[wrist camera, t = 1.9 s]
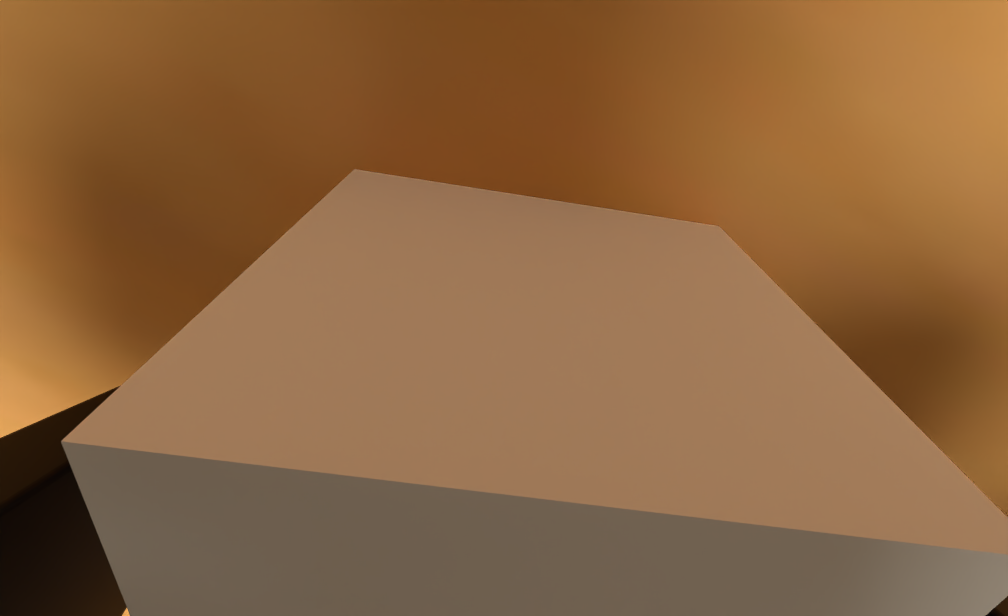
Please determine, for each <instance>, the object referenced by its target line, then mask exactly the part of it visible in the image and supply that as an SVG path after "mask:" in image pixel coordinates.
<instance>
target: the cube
mask: <svg viewBox="0 0 1008 616" xmlns="http://www.w3.org/2000/svg"><path fill="white" fill-rule="evenodd" d="M61 443H62V445H63V448H64V450H65V453H66V455H67V458H68V461H69V463H70V466H71V468H72V471H73V473H74V476H75V478H76V481H77V483H78V486H79V488H80V491H81V493H82V496H83V498H84V501H85V503H86V506H87V508H88V511H89V513H90V516H91V518H92V521H93V523H94V526H95V528H96V531H97V533H98V536H99V538H100V541H101V543H102V546H103V548H104V551H105V553H106V556H107V558H108V561H109V563H110V566H111V568H112V571H113V574H114V576H115V579H116V581H117V584H118V586H119V589H120V591H121V594H122V596H123V599H124V601H125V604H126V606H127V609H128V611H129V614H130V616H985V615H987V614H988V613H989V612H990V611H991V610H992V609H993V608H995V607H996V606H997V605H998V604H999V603H1000V602H1001V601H1003V600H1004V599H1005V598H1006V597H1007V596H1008V517H1007V516H1006V515H1005V514H1004V513H1003V512H1002V511H1001V510H1000V509H999V508H998V507H997V506H996V505H995V504H994V503H993V502H992V501H991V500H990V499H989V498H988V497H987V496H986V495H985V494H984V493H983V492H982V491H981V490H980V489H979V488H978V487H977V486H976V485H975V484H974V483H973V482H972V481H971V480H970V479H969V478H968V477H967V476H966V475H965V474H964V473H963V472H962V471H961V470H960V469H959V468H958V467H957V466H956V465H955V464H954V463H953V462H952V461H951V460H950V459H949V458H948V457H947V456H946V455H945V454H944V453H943V452H942V451H941V450H940V449H939V448H938V447H937V446H936V445H935V444H934V443H933V442H932V441H931V440H930V439H929V438H928V437H927V436H926V435H925V434H924V433H923V432H922V431H921V430H920V429H919V428H918V427H917V426H916V425H915V424H914V423H913V422H912V421H911V420H910V418H909V417H908V416H907V415H906V414H905V413H904V412H903V411H902V410H901V409H900V408H899V407H898V406H897V405H896V404H895V403H894V402H893V401H892V400H891V399H890V398H889V397H888V396H887V395H886V394H885V393H884V392H883V391H882V390H881V389H880V388H879V387H878V386H877V385H876V384H875V383H874V382H873V381H872V380H871V379H870V378H869V377H868V376H867V375H866V374H865V373H864V372H863V371H862V370H861V369H860V368H859V367H858V366H857V365H856V364H855V363H854V362H853V361H852V360H851V359H850V358H849V357H848V356H847V355H846V354H845V353H844V352H843V351H842V350H841V349H840V348H839V347H838V346H837V345H836V344H835V343H834V342H833V341H832V340H831V339H830V338H829V337H828V336H827V335H826V334H825V333H824V332H823V331H822V330H821V329H820V328H819V327H818V326H817V325H816V324H815V323H814V322H813V321H812V319H811V318H810V317H809V316H808V315H807V314H806V313H805V312H804V311H803V310H802V309H801V308H800V307H799V306H798V305H797V304H796V303H795V302H794V301H793V300H792V299H791V298H790V297H789V296H788V295H787V294H786V293H785V292H784V291H783V290H782V289H781V288H780V287H779V286H778V285H777V284H776V283H775V282H774V281H773V280H772V279H771V278H770V277H769V276H768V275H767V274H766V273H765V272H764V271H763V270H762V269H761V268H760V267H759V266H758V265H757V264H756V263H755V262H754V261H753V260H752V259H751V258H750V257H749V256H748V255H747V254H746V253H745V252H744V251H743V250H742V249H741V248H740V247H739V246H738V245H737V244H736V243H735V242H734V241H733V240H732V239H731V238H730V237H729V236H728V235H727V234H726V233H725V232H724V231H723V230H722V229H721V228H720V227H719V226H716V225H710V224H703V223H697V222H691V221H684V220H678V219H671V218H665V217H659V216H652V215H646V214H639V213H633V212H626V211H620V210H614V209H607V208H601V207H594V206H588V205H582V204H575V203H569V202H562V201H556V200H550V199H543V198H537V197H530V196H524V195H518V194H511V193H505V192H498V191H492V190H486V189H479V188H473V187H466V186H460V185H454V184H447V183H441V182H434V181H428V180H422V179H415V178H409V177H402V176H396V175H390V174H383V173H377V172H370V171H364V170H358V169H354V170H353V171H352V172H351V173H350V174H349V175H347V176H346V177H345V178H344V179H343V180H342V181H341V182H340V183H339V184H338V185H337V186H336V187H334V188H333V189H332V190H331V191H330V192H329V193H328V194H327V195H326V196H325V197H324V198H323V199H322V200H320V201H319V202H318V203H317V204H316V205H315V206H314V207H313V208H312V209H311V210H310V211H309V212H308V213H306V214H305V215H304V216H303V217H302V218H301V219H300V220H299V221H298V222H297V223H296V224H295V225H294V226H292V227H291V228H290V229H289V230H288V231H287V232H286V233H285V234H284V235H283V236H282V237H281V238H280V239H278V240H277V241H276V242H275V243H274V244H273V245H272V246H271V247H270V248H269V249H268V250H267V251H266V252H264V253H263V254H262V255H261V256H260V257H259V258H258V259H257V260H256V261H255V262H254V263H253V264H251V265H250V266H249V267H248V268H247V269H246V270H245V271H244V272H243V273H242V274H241V275H240V276H239V277H237V278H236V279H235V280H234V281H233V282H232V283H231V284H230V285H229V286H228V287H227V288H226V289H225V290H223V291H222V292H221V293H220V294H219V295H218V296H217V297H216V298H215V299H214V300H213V301H212V302H211V303H209V304H208V305H207V306H206V307H205V308H204V309H203V310H202V311H201V312H200V313H199V314H198V315H197V316H195V317H194V318H193V319H192V320H191V321H190V322H189V323H188V324H187V325H186V326H185V327H184V328H183V329H181V330H180V331H179V332H178V333H177V334H176V335H175V336H174V337H173V338H172V339H171V340H170V341H168V342H167V343H166V344H165V345H164V346H163V347H162V348H161V349H160V350H159V351H158V352H157V353H156V354H154V355H153V356H152V357H151V358H150V359H149V360H148V361H147V362H146V363H145V364H144V365H143V366H142V367H140V368H139V369H138V370H137V371H136V372H135V373H134V374H133V375H132V376H131V377H130V378H129V379H128V380H126V381H125V382H124V383H123V384H122V385H121V386H120V387H119V388H118V389H117V390H116V391H115V392H114V393H112V394H111V395H110V396H109V397H108V398H107V399H106V400H105V401H104V402H103V403H102V404H101V405H99V406H98V407H97V408H96V409H95V410H94V411H93V412H92V413H91V414H90V415H89V416H88V417H87V418H85V419H84V420H83V421H82V422H81V423H80V424H79V425H78V426H77V427H76V428H75V429H74V430H73V431H71V432H70V433H69V434H68V435H67V436H66V437H65V438H64V439H63V440H62V441H61Z"/></svg>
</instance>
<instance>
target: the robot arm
mask: <svg viewBox="0 0 1008 616" xmlns="http://www.w3.org/2000/svg"><path fill="white" fill-rule="evenodd" d="M119 387H120V386H119ZM119 387H116V388H114V389H112V390H109V391H107V392H105V393H103V394H100V395H98V396H96V397H93V398H91V399H89V400H86V401H84V402H82V403H80V404H77V405H75V406H73V407H70V408H68V409H66V410H63V411H61V412H59V413H57V414H54V415H52V416H50V417H47V418H45V419H43V420H41V421H38V422H36V423H34V424H31V425H29V426H27V427H24V428H22V429H20V430H18V431H15V432H13V433H11V434H8V435H6V436H4V437H2V438H0V616H122V614H123V613H124V611H125V609H126V608H127V606H126V604H125V601H124V599H123V596H122V594H121V591H120V589H119V586H118V584H117V581H116V579H115V576H114V574H113V571H112V568H111V566H110V563H109V561H108V558H107V556H106V553H105V551H104V548H103V546H102V543H101V541H100V538H99V536H98V533H97V531H96V528H95V526H94V523H93V521H92V518H91V516H90V513H89V511H88V508H87V506H86V503H85V501H84V498H83V496H82V493H81V491H80V488H79V486H78V483H77V481H76V478H75V476H74V473H73V471H72V468H71V466H70V463H69V461H68V458H67V455H66V453H65V450H64V448H63V445H62V443H61V441H62V440H63V439H64V438H65V437H66V436H67V435H68V434H69V433H70V432H71V431H73V430H74V429H75V428H76V427H77V426H78V425H79V424H80V423H81V422H82V421H83V420H84V419H85V418H87V417H88V416H89V415H90V414H91V413H92V412H93V411H94V410H95V409H96V408H97V407H98V406H99V405H101V404H102V403H103V402H104V401H105V400H106V399H107V398H108V397H109V396H110V395H111V394H112V393H114V392H115V391H116V390H117V389H118V388H119ZM985 616H1008V596H1007V597H1006V598H1005V599H1004V600H1003V601H1001V602H1000V603H999V604H998V605H997V606H996V607H995V608H993V609H992V610H991V611H990V612H989V613H988V614H987V615H985Z"/></svg>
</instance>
